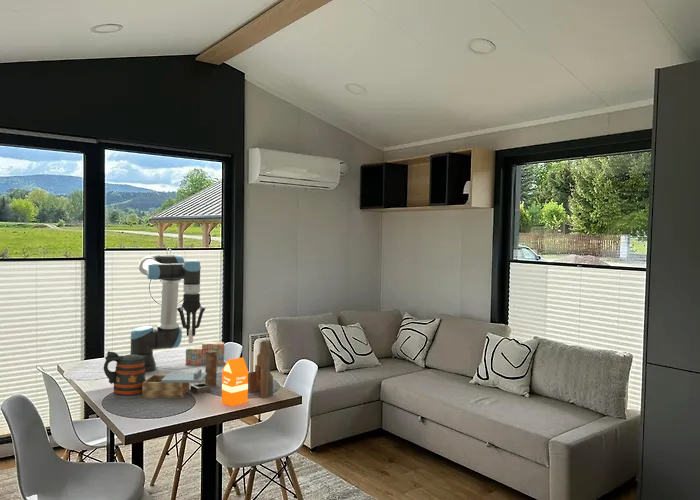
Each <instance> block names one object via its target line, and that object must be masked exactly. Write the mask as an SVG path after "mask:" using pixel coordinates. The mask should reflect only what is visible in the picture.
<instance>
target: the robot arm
mask: <svg viewBox="0 0 700 500" xmlns="http://www.w3.org/2000/svg"><path fill="white" fill-rule="evenodd" d="M138 270H139V271H140V273H141V274H142V275H145V276H146V277H147V279H148V280H153V281H156V280H160V281H161V282H162V284H161V285H162V286H161V288H162V289H161V302H160V303H161V305H160V306H161V307H160V322H159V323H158V324H157V328H156V327H155V328H154V327H153V326H152V325H143V326H139V327H135V328H134V329H132V330H131V332H130V354H136V355H142V356H143V355H146V358H145V361H144V362H145V373H147V372H152V371H155V370H156V369H157V363H156V361H155V358H154V351H155V350H167V349H170V350H171V349H174V348H175V349H176V348H178V347H179V346H180V344H181V342H182V338H183V331H182V330H183V329H186V337H187V336H188V344H193V343H194V337H195V336H196V330H197V329H199V327H200V325H201V322H202V319H203V314H204V312H205V311H206V307H203V306H202V305H201V302H200V301H201V294H200V293H201V261H200V260H185V259H184V257H183V256H182V255H179V254H175V253H174V254H151V255H147V256H144V257H143V258H142V259H140V261H139V263H138ZM181 280H183V294H182V296H183V298H182V299H183V301H182V302H183V303H182V304H181V306H179V307H178V303H179V302H178V301H179V300H178V299H179V284H180V283H179V282H180V281H181ZM184 311H185V312H186V314H184ZM198 311H199V313H198V317H197V312H198ZM178 313H179V317H180V322H181V326H182V327H180V324H179V323H178V322H177V319H178ZM185 315H186V317H185ZM182 328H183V329H182Z"/></svg>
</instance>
